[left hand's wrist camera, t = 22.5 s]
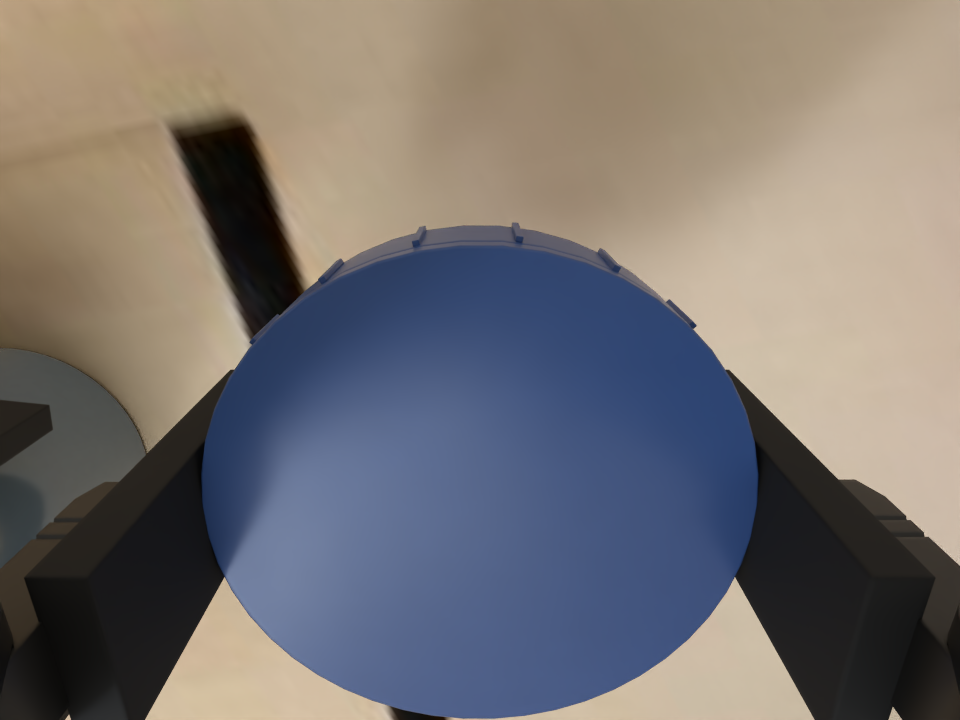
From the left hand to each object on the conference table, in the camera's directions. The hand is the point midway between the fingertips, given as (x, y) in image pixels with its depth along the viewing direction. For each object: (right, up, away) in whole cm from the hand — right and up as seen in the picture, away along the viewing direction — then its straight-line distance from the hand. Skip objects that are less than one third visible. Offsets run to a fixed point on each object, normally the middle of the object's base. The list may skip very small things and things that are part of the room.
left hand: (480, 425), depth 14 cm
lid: (0, -1, -3) cm, 3 cm away
